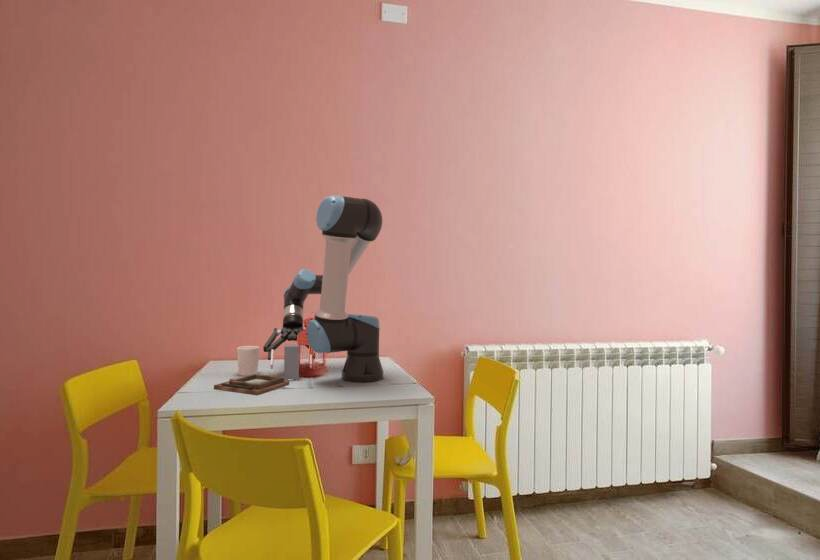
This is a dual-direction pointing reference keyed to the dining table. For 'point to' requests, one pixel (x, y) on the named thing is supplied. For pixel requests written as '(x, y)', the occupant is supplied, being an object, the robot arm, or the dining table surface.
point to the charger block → (291, 361)
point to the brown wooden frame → (252, 384)
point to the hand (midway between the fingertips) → (291, 366)
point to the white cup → (248, 360)
